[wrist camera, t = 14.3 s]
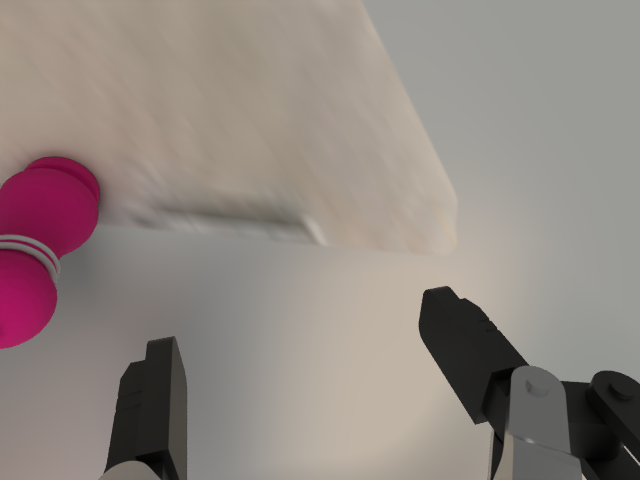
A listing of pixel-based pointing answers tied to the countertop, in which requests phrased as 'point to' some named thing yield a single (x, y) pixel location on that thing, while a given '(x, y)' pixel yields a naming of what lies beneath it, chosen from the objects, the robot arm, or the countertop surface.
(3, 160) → the countertop surface
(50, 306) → the pepper mill
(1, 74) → the countertop surface
